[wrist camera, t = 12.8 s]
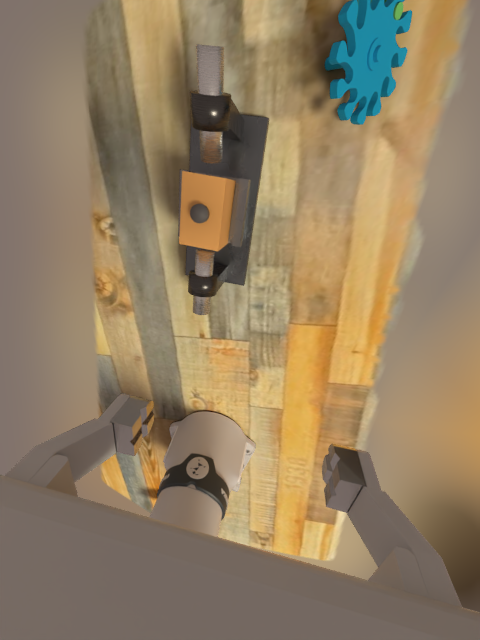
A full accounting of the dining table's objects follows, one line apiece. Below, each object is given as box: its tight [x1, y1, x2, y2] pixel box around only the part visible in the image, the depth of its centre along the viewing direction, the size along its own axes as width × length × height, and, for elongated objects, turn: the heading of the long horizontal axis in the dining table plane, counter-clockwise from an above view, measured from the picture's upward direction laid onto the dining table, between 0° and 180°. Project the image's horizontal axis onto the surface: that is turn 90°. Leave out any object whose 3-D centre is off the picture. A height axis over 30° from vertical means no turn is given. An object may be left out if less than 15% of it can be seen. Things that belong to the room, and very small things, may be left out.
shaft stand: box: [178, 44, 269, 315], centre depth 30 cm, size 25×9×11 cm, turn 172°
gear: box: [325, 0, 412, 124], centre depth 24 cm, size 11×6×10 cm
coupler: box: [179, 171, 236, 251], centre depth 28 cm, size 7×4×6 cm, turn 171°
